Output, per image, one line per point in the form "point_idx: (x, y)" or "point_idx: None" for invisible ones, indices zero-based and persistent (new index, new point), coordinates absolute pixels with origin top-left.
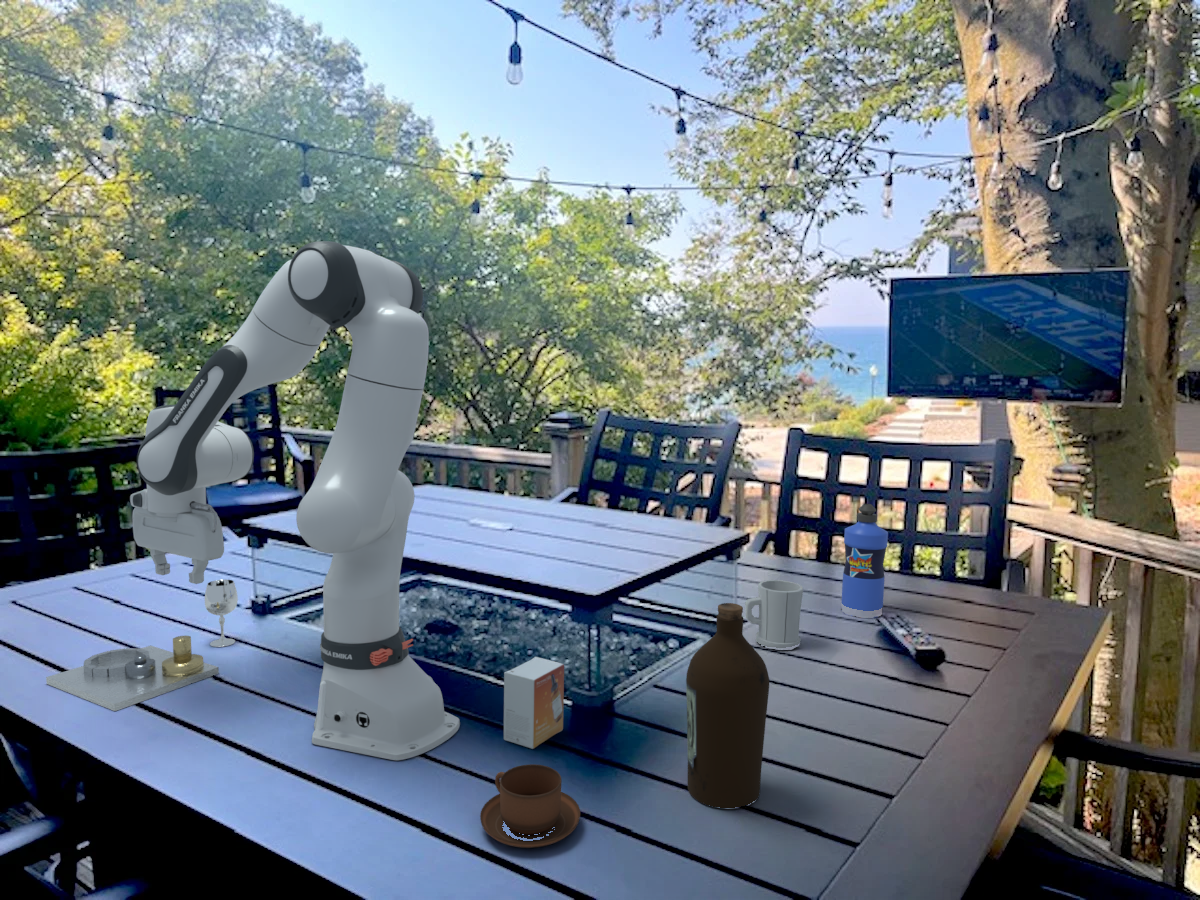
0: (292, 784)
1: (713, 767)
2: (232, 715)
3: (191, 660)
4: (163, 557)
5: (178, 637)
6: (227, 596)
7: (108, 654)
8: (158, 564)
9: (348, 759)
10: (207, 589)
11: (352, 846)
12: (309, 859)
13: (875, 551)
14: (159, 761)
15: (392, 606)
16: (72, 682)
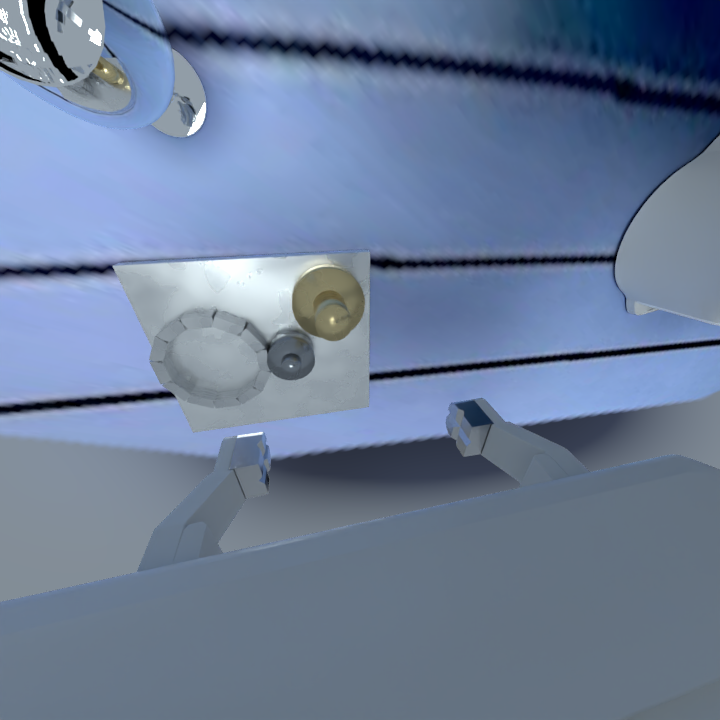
0: (632, 363)
1: None
2: (502, 325)
3: (342, 295)
4: (210, 504)
5: (322, 326)
6: (152, 41)
7: (165, 363)
8: (244, 498)
9: None
10: (55, 99)
11: (696, 379)
12: (671, 399)
13: None
14: (502, 409)
15: None
16: (246, 417)
